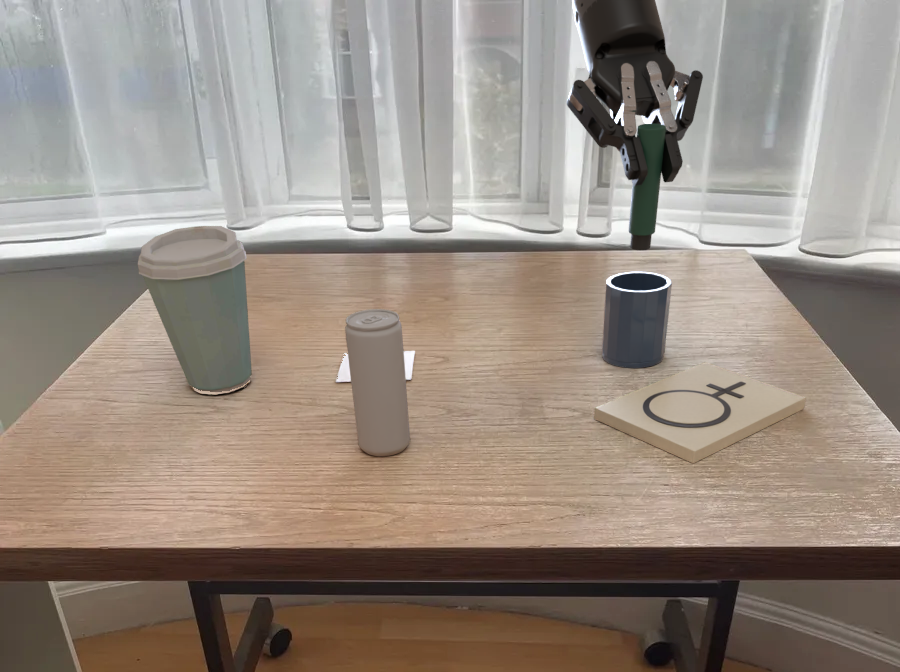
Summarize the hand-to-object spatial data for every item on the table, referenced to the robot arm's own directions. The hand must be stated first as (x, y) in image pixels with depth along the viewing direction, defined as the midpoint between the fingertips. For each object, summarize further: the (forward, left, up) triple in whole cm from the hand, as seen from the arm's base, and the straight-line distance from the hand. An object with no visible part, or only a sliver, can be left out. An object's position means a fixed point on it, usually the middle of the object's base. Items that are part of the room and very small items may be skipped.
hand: (656, 177), depth 85 cm
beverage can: (+31, -3, -19) cm, 36 cm away
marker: (-1, -2, -7) cm, 7 cm away
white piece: (+21, -19, -18) cm, 34 cm away
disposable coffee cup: (+36, -27, -19) cm, 49 cm away
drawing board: (+5, +12, -18) cm, 23 cm away
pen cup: (-1, -2, -18) cm, 18 cm away
